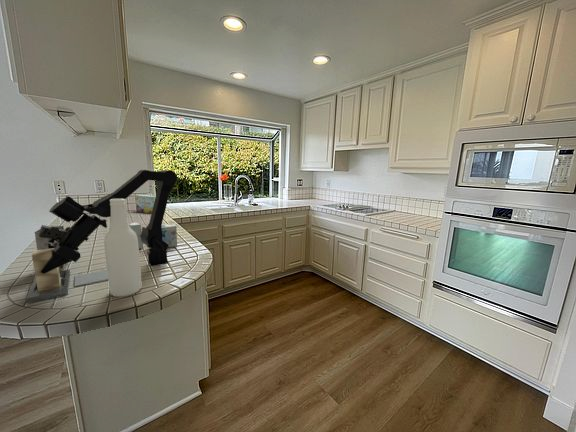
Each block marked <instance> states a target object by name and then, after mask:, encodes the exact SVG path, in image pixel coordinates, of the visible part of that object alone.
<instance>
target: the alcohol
mask: <svg viewBox="0 0 576 432" xmlns="http://www.w3.org/2000/svg"><path fill="white" fill-rule="evenodd" d="M109 201H110V206H111V216H110V228H109V231H108V232H107V233H106V234H105V236H104V240H103V244H104V253H105V261H106V262H105V263H106V264H105V265H106V270H107V273H108V280H107V281H108V289H109V294H110V295H111V296H114V297H115V298H116V297H117V298H122V297H124V298H125V297H128V296H132V295H134V294H136V293H138V292H139V291H140V290H141V288H142V286H143V283H142V271H141V270H142V269H141V261H140V260H141V259H140V250H139V247H138V237H137V235H136V233H135V232H134V231H133V230H132V229H131V228H130V226H129V224H130V223H129V219H128V212H127V208H126V205H127V203H126V199H111V200H109Z"/></svg>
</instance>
